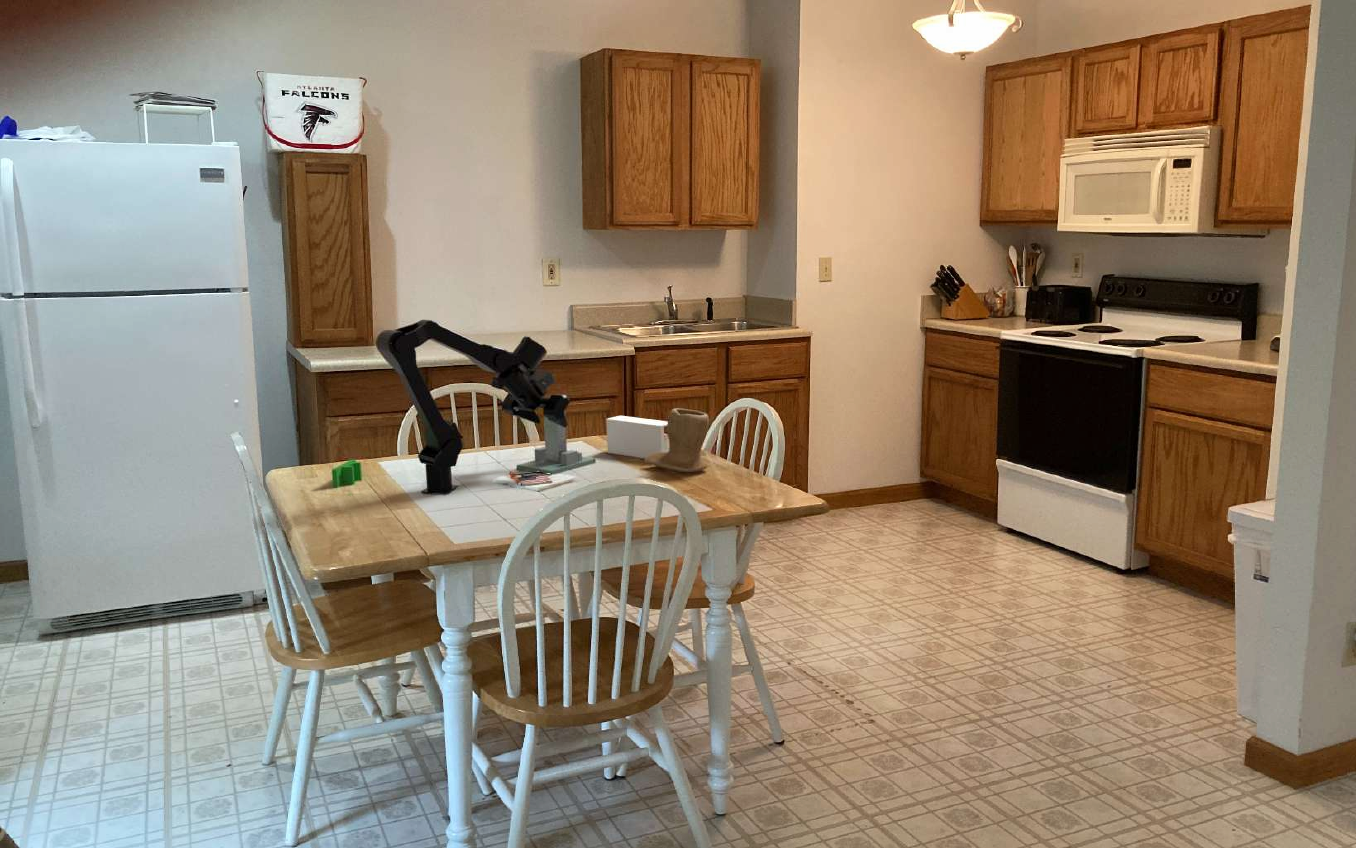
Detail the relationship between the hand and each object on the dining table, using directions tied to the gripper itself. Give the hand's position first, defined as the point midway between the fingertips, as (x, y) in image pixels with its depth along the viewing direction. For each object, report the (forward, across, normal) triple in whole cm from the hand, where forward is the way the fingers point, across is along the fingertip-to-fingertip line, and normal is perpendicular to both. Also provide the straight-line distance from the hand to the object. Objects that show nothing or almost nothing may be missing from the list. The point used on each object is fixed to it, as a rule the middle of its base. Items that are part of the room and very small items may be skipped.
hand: (552, 424), depth 272 cm
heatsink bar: (+7, 0, +6) cm, 10 cm away
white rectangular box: (+23, -10, -8) cm, 26 cm away
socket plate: (+8, 0, +7) cm, 11 cm away
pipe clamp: (-19, +30, +36) cm, 51 cm away
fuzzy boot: (+18, -29, -3) cm, 34 cm away
